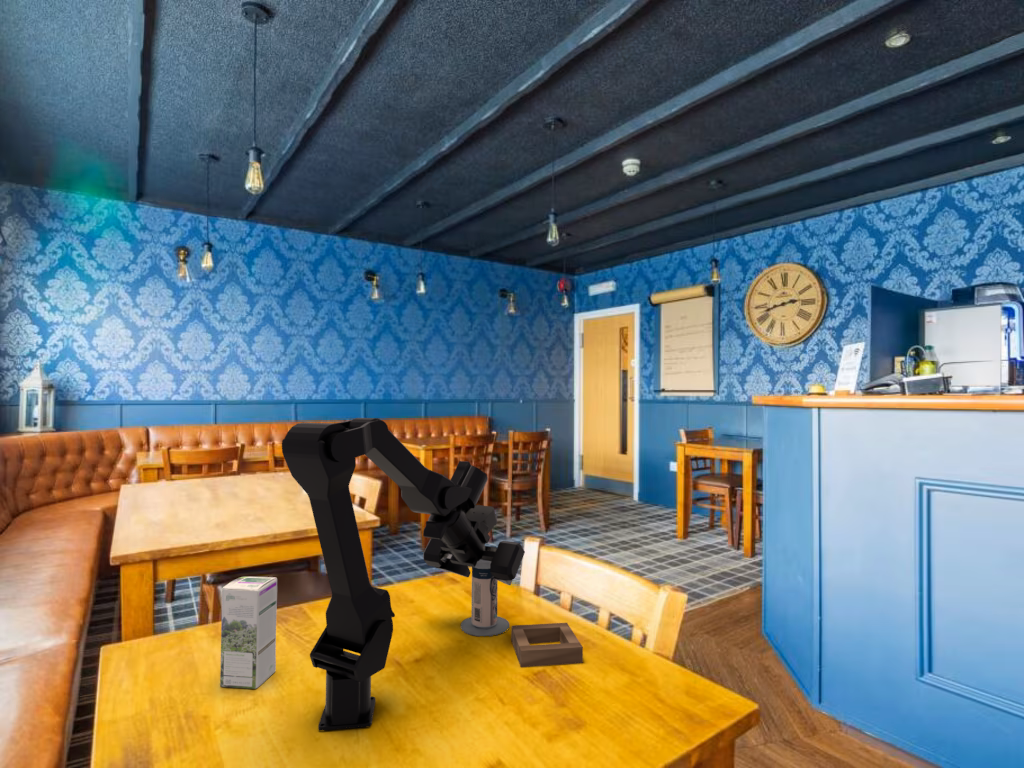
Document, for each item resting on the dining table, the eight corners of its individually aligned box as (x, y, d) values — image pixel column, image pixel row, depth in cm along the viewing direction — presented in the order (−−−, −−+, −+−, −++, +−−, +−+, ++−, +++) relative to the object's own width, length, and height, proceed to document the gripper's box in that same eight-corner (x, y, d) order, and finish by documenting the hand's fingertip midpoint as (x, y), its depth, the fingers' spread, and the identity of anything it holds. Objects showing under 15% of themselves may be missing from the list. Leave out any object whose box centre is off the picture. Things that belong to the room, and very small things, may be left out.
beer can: (499, 628, 100) (499, 562, 100) (473, 631, 99) (474, 563, 99) (494, 618, 105) (494, 554, 105) (469, 620, 104) (470, 556, 104)
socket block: (582, 662, 88) (582, 647, 88) (520, 667, 86) (520, 650, 86) (567, 636, 98) (567, 622, 98) (511, 640, 96) (511, 625, 96)
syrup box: (277, 671, 85) (279, 575, 85) (255, 691, 79) (258, 588, 79) (241, 669, 85) (244, 574, 86) (217, 688, 79) (220, 586, 80)
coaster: (512, 635, 98) (512, 632, 98) (462, 638, 97) (462, 635, 97) (505, 616, 107) (505, 614, 107) (459, 618, 106) (459, 616, 106)
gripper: (520, 497, 95) (547, 548, 104) (433, 489, 104) (465, 536, 113) (496, 554, 88) (527, 603, 97) (405, 539, 97) (442, 585, 106)
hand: (489, 578), depth 104 cm, fingers open, 9 cm apart
